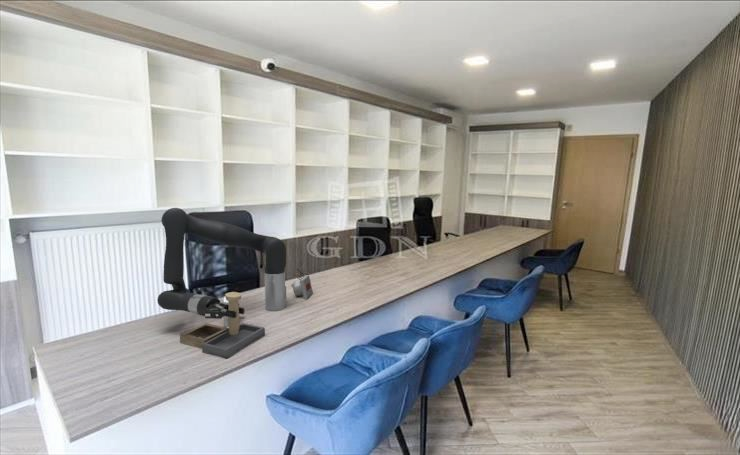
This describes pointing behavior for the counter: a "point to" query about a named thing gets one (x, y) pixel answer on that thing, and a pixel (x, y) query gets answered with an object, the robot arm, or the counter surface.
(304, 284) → the voltmeter
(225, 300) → the small box
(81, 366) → the counter surface
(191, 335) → the socket collar
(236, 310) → the handle
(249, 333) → the tray
